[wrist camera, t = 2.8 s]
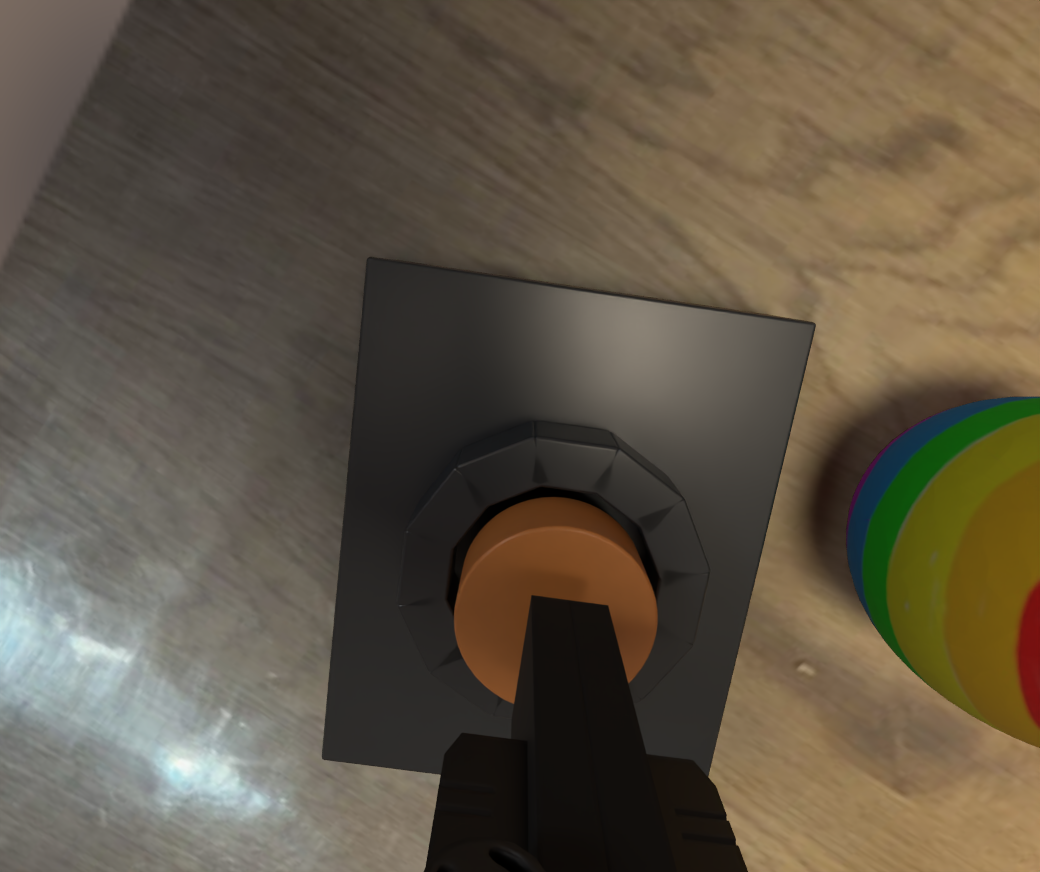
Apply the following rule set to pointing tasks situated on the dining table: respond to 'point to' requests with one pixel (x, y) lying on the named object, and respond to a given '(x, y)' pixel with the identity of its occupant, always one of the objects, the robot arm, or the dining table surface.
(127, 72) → the dining table surface
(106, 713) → the dining table surface
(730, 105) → the dining table surface
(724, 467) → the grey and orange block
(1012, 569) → the decorative egg
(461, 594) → the orange button
